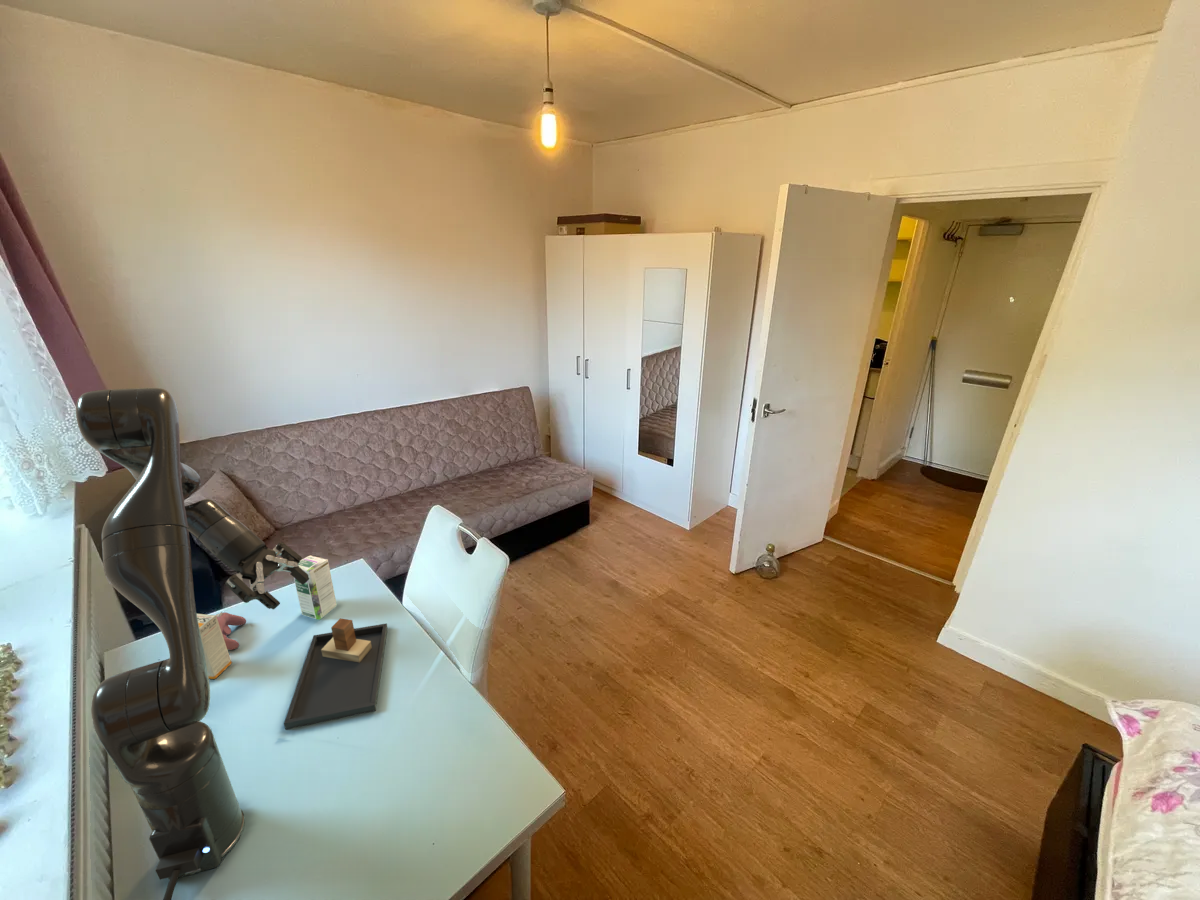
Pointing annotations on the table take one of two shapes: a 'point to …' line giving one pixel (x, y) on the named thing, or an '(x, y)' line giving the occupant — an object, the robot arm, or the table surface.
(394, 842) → the table surface
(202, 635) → the supplement box
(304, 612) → the syrup box
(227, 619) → the video game controller
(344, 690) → the tray
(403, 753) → the table surface
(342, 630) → the stacked wooden blocks
